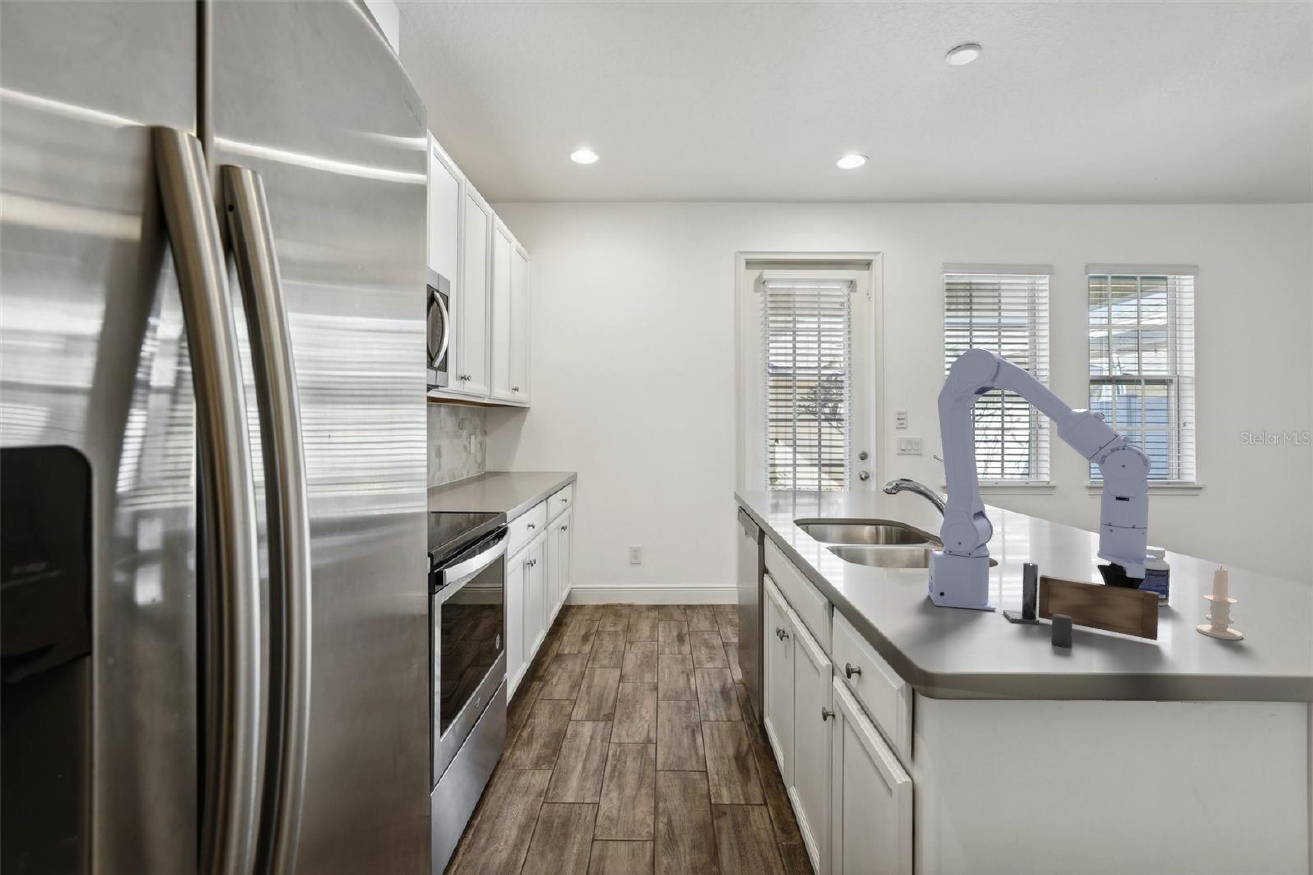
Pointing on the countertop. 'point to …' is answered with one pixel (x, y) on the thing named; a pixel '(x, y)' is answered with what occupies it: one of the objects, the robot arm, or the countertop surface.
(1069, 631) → the block
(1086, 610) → the gate
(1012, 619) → the gate post
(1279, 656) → the countertop surface
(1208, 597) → the candle
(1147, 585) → the pill bottle
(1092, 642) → the countertop surface
